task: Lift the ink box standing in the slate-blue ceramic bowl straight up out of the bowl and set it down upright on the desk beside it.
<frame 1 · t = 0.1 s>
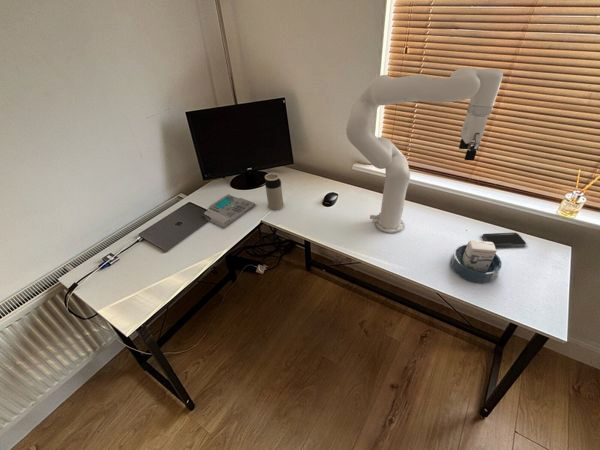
hand: (465, 154, 116), 37 cm above the table, tool pointing down, fingers open, 9 cm apart
ink box: (473, 267, 119), resting on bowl
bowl: (472, 267, 119), on the table
travel mug: (276, 206, 161), on the table
phone: (502, 241, 130), on the table
office telephone: (227, 210, 160), on the table
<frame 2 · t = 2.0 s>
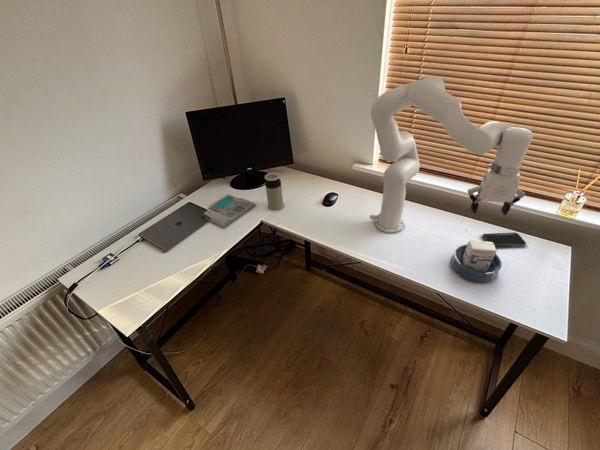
hand: (488, 211, 107), 25 cm above the table, tool pointing down, fingers open, 9 cm apart
nothing on the table moved.
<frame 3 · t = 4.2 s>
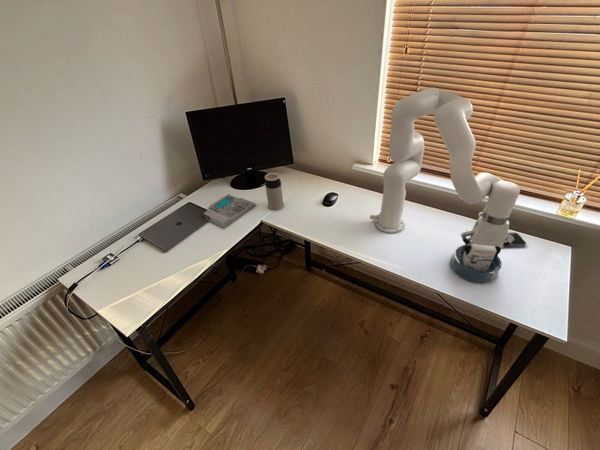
hand: (480, 253, 114), 8 cm above the table, tool pointing down, fingers open, 9 cm apart
nothing on the table moved.
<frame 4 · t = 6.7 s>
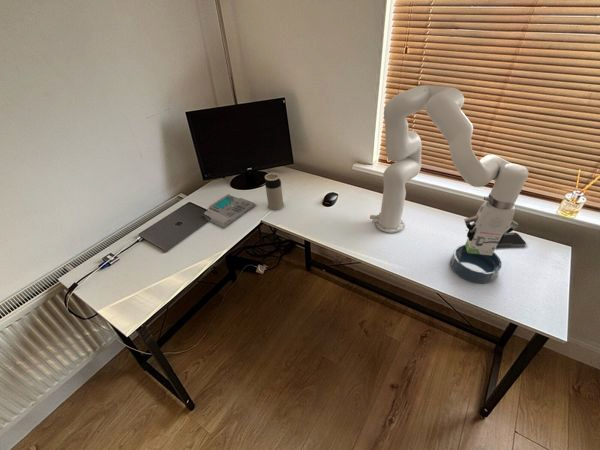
hand: (483, 239, 111), 15 cm above the table, tool pointing down, fingers closed on ink box, 8 cm apart
ink box: (477, 250, 114), point 9 cm above the table, touching gripper
everything else where it was.
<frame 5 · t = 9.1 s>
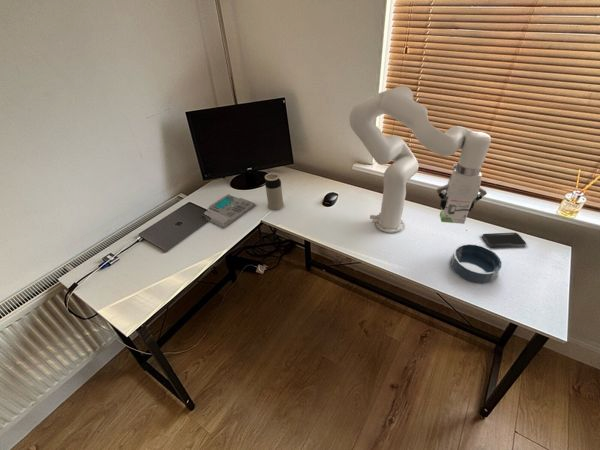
hand: (455, 208, 117), 20 cm above the table, tool pointing down, fingers closed on ink box, 8 cm apart
ink box: (451, 219, 121), point 15 cm above the table, touching gripper
everything else where it was.
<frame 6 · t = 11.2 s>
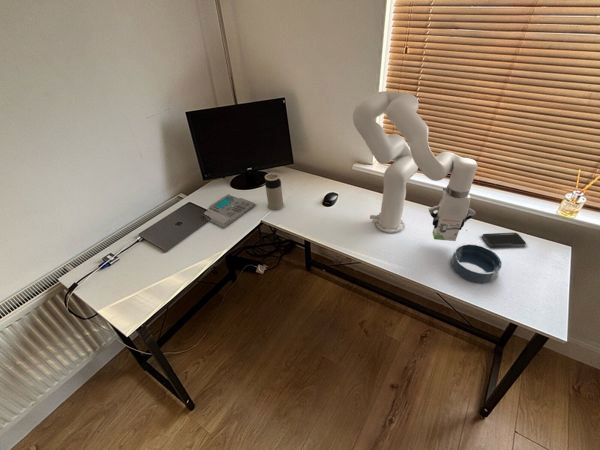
hand: (446, 226, 124), 10 cm above the table, tool pointing down, fingers closed on ink box, 8 cm apart
ink box: (443, 237, 127), point 5 cm above the table, touching gripper
everything else where it was.
when the fingers open (5 cm above the table, at t = 13.1 s): ink box stays where it is, on the table.
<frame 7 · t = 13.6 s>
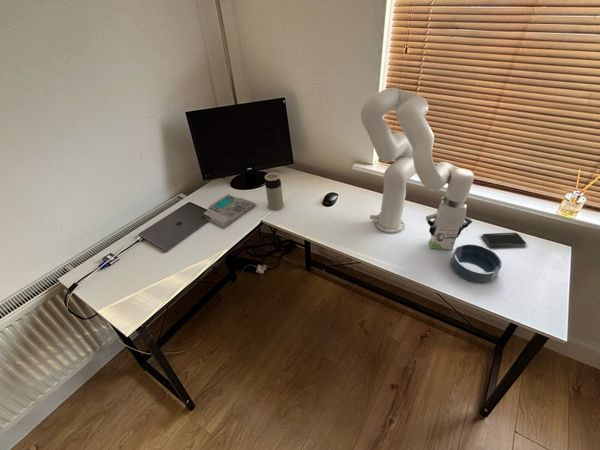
hand: (443, 234, 127), 6 cm above the table, tool pointing down, fingers open, 9 cm apart
ink box: (440, 245, 130), on the table, touching gripper
everything else where it was.
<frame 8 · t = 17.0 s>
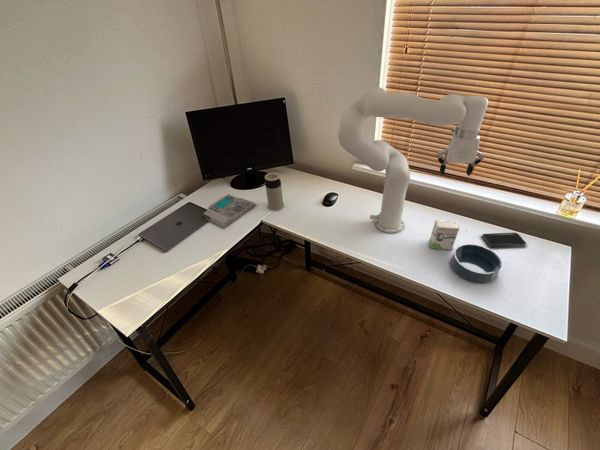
hand: (454, 173, 122), 28 cm above the table, tool pointing down, fingers open, 9 cm apart
ink box: (440, 245, 131), on the table
everything else where it was.
at the end: ink box inside the target area (0.1 cm from its centre), on the table; ink box tilted 0°; ink box touching table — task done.
